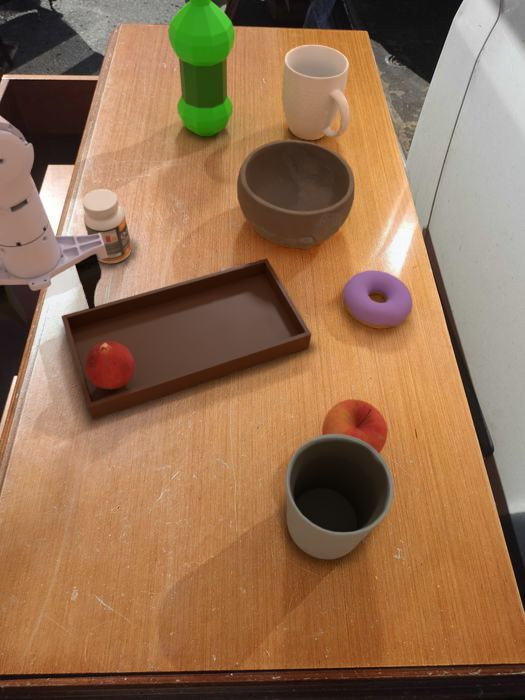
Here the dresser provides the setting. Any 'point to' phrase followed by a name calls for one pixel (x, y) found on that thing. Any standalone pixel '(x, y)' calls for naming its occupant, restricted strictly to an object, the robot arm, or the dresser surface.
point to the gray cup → (336, 494)
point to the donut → (374, 312)
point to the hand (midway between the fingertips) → (57, 311)
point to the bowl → (295, 192)
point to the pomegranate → (109, 365)
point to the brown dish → (188, 333)
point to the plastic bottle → (203, 65)
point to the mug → (315, 91)
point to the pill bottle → (107, 223)
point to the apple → (357, 422)
